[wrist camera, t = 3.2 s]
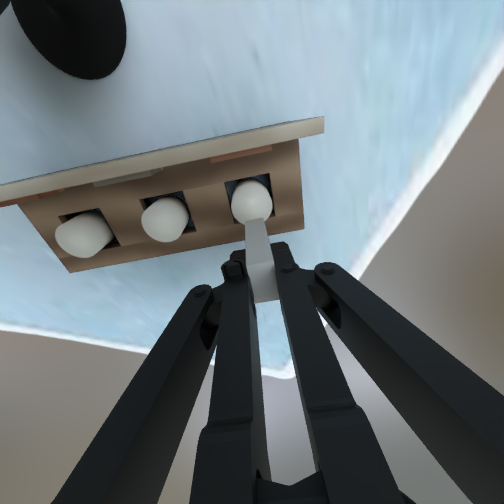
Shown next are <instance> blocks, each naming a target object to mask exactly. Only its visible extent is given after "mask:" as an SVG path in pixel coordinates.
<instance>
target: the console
mask: <svg viewBox="0 0 504 504" xmlns="http://www.w3.org/2000/svg"><path fill="white" fill-rule="evenodd" d="M322 133H324V116H322V117H315V118H308V119H302V120H295V121H289V122H283V123H279V124H274V125H269V126H265V127H260V128H256V129H251V130H246V131H242V132H237V133H233V134H228V135H223V136H219V137H214V138H210V139H205V140H200V141H196V142H191V143H186V144H182V145H177V146H173V147H168V148H163V149H159V150H154V151H150V152H145V153H140V154H136V155H131V156H127V157H122V158H117V159H113V160H108V161H104V162H99V163H94V164H90V165H85V166H81V167H76V168H71V169H67V170H62V171H57V172H53V173H48V174H44V175H39V176H35V177H31V178H27V179H22V180H18V181H14V182H9V183H5V184H1V185H0V207H5V206H10V205H14V204H17V205H18V206H19V207H20V209H21V210H22V211H23V213H24V214H25V215H26V216H27V218H28V219H29V220H30V222H31V223H32V224H33V226H34V227H35V228H36V230H37V231H38V232H39V233H40V235H41V236H42V237H43V239H44V240H45V241H46V243H47V244H48V245H49V247H50V248H51V249H52V250H53V252H54V253H55V254H56V256H57V257H58V258H59V260H60V261H61V262H62V264H63V265H64V266H65V267H66V269H67V270H68V271H69V273H73V272H78V271H84V270H89V269H94V268H100V267H105V266H110V265H116V264H121V263H126V262H131V261H137V260H142V259H147V258H153V257H158V256H163V255H169V254H174V253H179V252H185V251H190V250H195V249H201V248H206V247H211V246H216V245H222V244H227V243H232V242H238V241H243V240H245V225H244V224H242V223H240V222H239V221H238V220H237V219H236V218H234V217H233V213H232V209H231V205H230V201H229V197H228V193H227V189H226V185H225V182H227V181H232V180H237V179H242V178H247V177H252V176H256V175H261V174H266V173H269V177H270V184H271V191H272V199H273V206H274V211H271V214H270V216H269V217H268V219H267V220H266V221H264V222H265V227H266V231H267V235H268V236H270V235H275V234H280V233H286V232H291V231H296V230H301V229H304V214H303V200H302V185H301V171H300V156H299V141H298V138H303V137H307V136H312V135H317V134H322ZM178 191H183V193H184V196H185V199H186V202H187V205H188V208H189V211H190V213H191V216H192V219H193V222H194V225H195V226H191V227H186V228H184V230H183V232H182V234H181V235H180V237H179V238H178V239H176V240H174V241H172V242H160V241H157V240H155V239H153V238H151V237H150V236H149V235H148V234H147V233H146V232H145V230H144V228H143V226H142V221H141V218H142V215H143V213H144V211H145V210H146V209H147V207H146V204H145V202H144V200H143V199H144V198H149V197H154V196H159V195H164V194H168V193H173V192H178ZM95 208H100V210H101V212H102V213H103V215H104V217H105V219H106V220H107V222H108V224H109V226H110V227H111V229H112V231H113V233H114V234H115V236H116V238H117V240H118V241H114V242H109V243H108V244H107V245H105V246H104V247H103V248H102V249H101V250H100V251H98V252H97V253H96V254H95V255H94V256H92V257H89V258H80V257H76V256H73V255H71V254H69V253H67V252H66V251H64V250H63V249H62V248H61V247H60V246H59V244H58V243H57V241H56V238H55V231H56V229H57V227H58V226H60V225H61V224H63V223H65V222H67V221H69V220H71V219H73V218H75V217H76V216H78V215H79V213H78V212H81V211H85V210H90V209H95Z"/></svg>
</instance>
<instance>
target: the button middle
mask: <svg viewBox="0 0 504 504" xmlns="http://www.w3.org/2000/svg"><path fill="white" fill-rule="evenodd" d="M189 219H190V211H189V208H188V205H187V203H186V202H185V201H184V200H183V199H181V198H180V197H178V196H175V195H164V196H162V197H160V198H159V199H158V200H156V201H155V202H154V203H153V204H152V205H151V206H149V207H148V208H147V209H146V210H145V211H144V213H143V215H142V218H141V221H142V226H143V228H144V230H145V232H146V233H147V234H148V235H149V236H150V237H151V238H153V239H155V240H157V241H160V242H172V241H174V240H176V239H178V238H179V237H180V235H181V234H182V232H183V230H184V228H185V227H186V225H187V223H188V221H189Z"/></svg>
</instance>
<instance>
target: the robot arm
mask: <svg viewBox="0 0 504 504" xmlns="http://www.w3.org/2000/svg"><path fill="white" fill-rule="evenodd" d="M245 243H246V249H243V250H237V251H233V252H232V254H231V255H230V260H229V261H227V262H225V263H224V264H223V265H222V266H221V270H222V273H223V276H224V283H223V284H221V285H220V286H218V287H215V288H213V289H212V288H211V286H209V285H206V284H203V285H199V286H196V287H194V288H193V289H191V290H190V292H189V293H188V294H187V296H186V297H185V299H184V300H183V302H182V304H181V305H180V307H179V308H178V310H177V311H176V313H175V314H174V316H173V317H172V319H171V320H170V322H169V324H168V325H167V327H166V328H165V330H164V331H163V333H162V334H161V336H160V337H159V339H158V340H157V342H156V344H155V345H154V347H153V348H152V350H151V351H150V353H149V354H148V356H147V358H146V359H145V361H144V362H143V364H142V365H141V367H140V368H139V370H138V371H137V373H136V374H135V376H134V377H133V379H132V380H131V382H130V384H129V385H128V387H127V388H126V390H125V391H124V393H123V394H122V396H121V397H120V399H119V400H118V402H117V404H116V405H115V407H114V408H113V410H112V411H111V413H110V414H109V416H108V418H107V419H106V420H105V422H104V424H103V425H102V427H101V428H100V430H99V431H98V433H97V434H96V436H95V437H94V439H93V441H92V442H91V444H90V445H89V447H88V448H87V450H86V451H85V453H84V454H83V456H82V457H81V459H80V461H79V462H78V464H77V465H76V467H75V468H74V470H73V471H72V473H71V474H70V476H69V477H68V479H67V481H66V482H65V484H64V485H63V487H62V488H61V490H60V491H59V493H58V494H57V496H56V497H55V499H54V500H53V501H52V503H51V504H157V503H158V500H159V497H160V495H161V492H162V489H163V487H164V484H165V481H166V478H167V476H168V473H169V471H170V468H171V465H172V463H173V460H174V457H175V455H176V452H177V449H178V447H179V444H180V441H181V439H182V436H183V433H184V430H185V428H186V425H187V423H188V420H189V417H190V415H191V412H192V409H193V407H194V404H195V401H196V398H197V396H198V393H199V391H200V388H201V385H202V382H203V380H204V377H205V375H206V372H207V369H208V367H209V364H210V361H211V359H212V356H213V353H214V351H215V348H216V345H217V348H216V357H215V365H214V374H213V382H212V391H211V399H210V408H209V417H208V422H207V425H206V426H205V427H204V428H203V429H202V431H201V433H200V436H199V440H198V445H197V453H196V459H195V466H194V473H193V481H192V487H191V495H190V502H189V504H416V503H415V502H414V501H413V500H411V499H410V498H409V497H408V496H406V495H405V494H404V493H403V492H401V491H400V490H399V489H398V487H397V484H396V482H395V480H394V477H393V475H392V473H391V471H390V468H389V466H388V464H387V461H386V459H385V457H384V454H383V452H382V450H381V448H380V445H379V443H378V441H377V439H376V436H375V434H374V432H373V429H372V427H371V424H370V422H369V421H368V418H367V416H366V414H365V412H364V411H363V409H362V408H361V407H360V406H358V405H357V404H356V402H355V400H354V398H353V396H352V394H351V392H350V389H349V386H348V384H347V382H346V379H345V377H344V374H343V372H342V369H341V367H340V365H339V362H338V360H337V358H336V355H335V352H334V350H333V348H332V345H331V343H330V340H329V338H328V336H327V333H326V331H325V328H324V326H323V323H322V321H321V319H320V316H319V314H318V312H319V313H320V314H321V315H322V317H323V318H324V319H325V320H326V322H327V323H328V324H329V325H330V327H331V328H332V329H333V330H334V332H335V333H336V334H337V335H338V337H339V338H340V339H341V340H342V342H343V343H344V344H345V346H346V347H347V348H348V349H349V351H350V352H351V353H352V354H353V355H354V357H355V358H356V359H357V361H358V362H359V363H360V364H361V366H362V367H363V368H364V369H365V371H366V372H367V373H368V374H369V376H370V377H371V378H372V379H373V381H374V382H375V383H376V385H377V386H378V387H379V388H380V390H381V391H382V392H383V393H384V394H385V396H386V397H387V398H388V400H389V401H390V402H391V403H392V405H393V406H394V407H395V408H396V410H397V411H398V412H399V413H400V415H401V416H402V417H403V418H404V420H405V421H406V422H407V424H408V425H409V426H410V427H411V429H412V430H413V431H414V432H415V434H416V435H417V436H418V437H419V439H420V440H421V441H422V442H423V444H424V445H425V446H426V447H427V449H428V450H429V451H430V453H431V454H432V455H433V456H434V457H435V459H436V460H437V461H438V463H439V464H440V465H441V466H442V468H443V469H444V470H445V471H446V473H447V474H448V475H449V476H450V477H451V479H452V480H453V481H454V482H455V483H456V484H457V486H458V487H459V488H460V489H461V490H462V491H463V493H464V494H465V495H466V496H467V497H468V499H469V500H470V501H471V502H472V503H473V504H504V396H503V395H502V394H500V393H499V392H498V391H497V390H495V389H494V388H493V387H492V386H491V385H489V384H488V383H487V382H485V381H484V380H483V379H482V378H480V377H479V376H478V375H477V374H475V373H474V372H473V371H472V370H470V369H469V368H468V367H467V366H465V365H464V364H463V363H461V362H460V361H459V360H458V359H456V358H455V357H454V356H452V355H451V354H450V353H449V352H448V351H446V350H445V349H444V348H443V347H441V346H440V345H439V344H437V343H436V342H435V341H434V340H432V339H431V338H430V337H429V336H427V335H426V334H425V333H424V332H422V331H421V330H420V329H419V328H417V327H416V326H415V325H413V324H412V323H411V322H410V321H408V320H407V319H406V318H405V317H403V316H402V315H401V314H400V313H398V312H397V311H396V310H395V309H393V308H392V307H391V306H389V305H388V304H387V303H386V302H384V301H383V300H382V299H381V298H379V297H378V296H377V295H375V294H374V293H373V292H372V291H371V290H369V289H368V288H367V287H365V286H364V285H363V284H361V283H360V282H359V281H358V280H357V279H355V278H354V277H353V276H352V275H350V274H349V273H348V272H347V271H345V270H344V269H343V268H341V267H340V266H339V265H337V264H335V263H331V262H324V263H320V264H318V265H316V266H315V268H314V270H305V269H301V268H299V266H298V265H297V264H296V263H295V261H294V259H293V256H292V254H291V251H290V249H289V246H288V244H286V243H285V242H278V243H272V244H270V243H269V239H268V235H267V231H266V227H265V222H264V218H258V219H253V220H248V221H245ZM279 299H280V304H281V310H282V315H283V318H284V323H285V327H286V332H287V337H288V341H289V346H290V351H291V355H292V360H293V365H294V369H295V374H296V378H297V383H298V388H299V392H300V397H301V401H302V406H303V411H304V415H305V420H306V425H307V429H308V434H309V439H310V443H311V448H312V453H313V459H314V464H315V469H316V473H314V474H312V475H310V476H309V477H307V478H305V479H303V480H301V481H299V482H297V483H295V484H294V485H290V486H288V485H283V484H279V483H276V482H272V480H271V472H270V465H269V460H268V452H267V440H266V428H265V415H264V403H263V390H262V378H261V365H260V353H259V340H258V328H257V315H256V307H255V303H261V302H267V301H273V300H279ZM254 301H255V303H254ZM316 308H317V309H316ZM317 310H318V311H317Z"/></svg>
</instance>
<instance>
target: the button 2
mask: <svg viewBox="0 0 504 504" xmlns="http://www.w3.org/2000/svg"><path fill="white" fill-rule="evenodd" d="M231 209H232V213H233V215H234V217H235V218H236V219H237V220H238V221H239V222H240V223H242V224H244V225H245V221H248V220H253V219H258V218H264V221H266V220H267V219H268V217H269V216H270V214H271V211H272V200H271V197H270V195H269V193H268V190H267V188H266V186H265V185H264V184H263V183H262V182H261V181H259V180H257V179H254V178H247V179H244V180H242V181H240V182H239V183H238V184H237V185H236V186H235V188H234V191H233V196H232V204H231Z"/></svg>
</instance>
